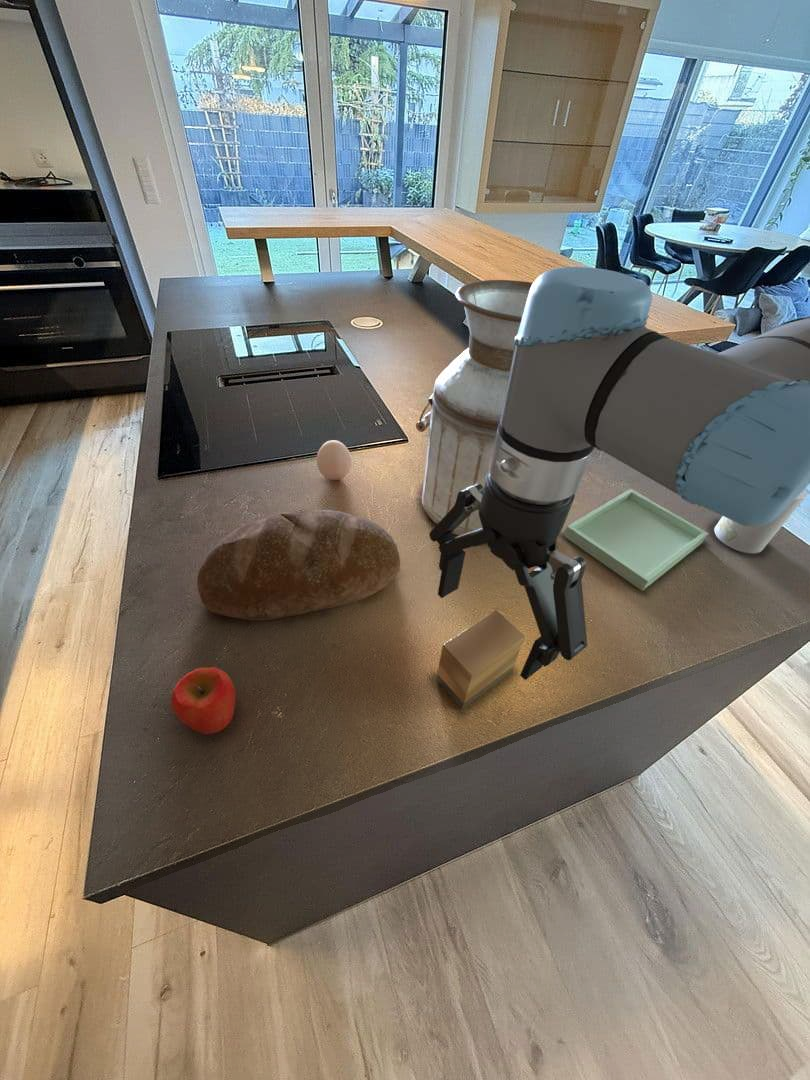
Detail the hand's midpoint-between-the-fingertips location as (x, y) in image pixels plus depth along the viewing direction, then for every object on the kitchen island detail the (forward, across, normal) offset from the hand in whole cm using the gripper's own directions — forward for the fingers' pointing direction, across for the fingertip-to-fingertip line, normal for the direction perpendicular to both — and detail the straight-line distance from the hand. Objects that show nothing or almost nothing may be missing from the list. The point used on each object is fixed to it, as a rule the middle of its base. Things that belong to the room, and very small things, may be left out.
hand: (486, 628), depth 53 cm
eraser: (+10, 0, 0) cm, 10 cm away
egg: (+11, -48, +8) cm, 50 cm away
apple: (+10, -14, -29) cm, 34 cm away
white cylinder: (+10, +8, +59) cm, 60 cm away
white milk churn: (+10, -26, +26) cm, 38 cm away
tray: (+10, -3, +42) cm, 43 cm away
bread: (+10, -27, -10) cm, 30 cm away
